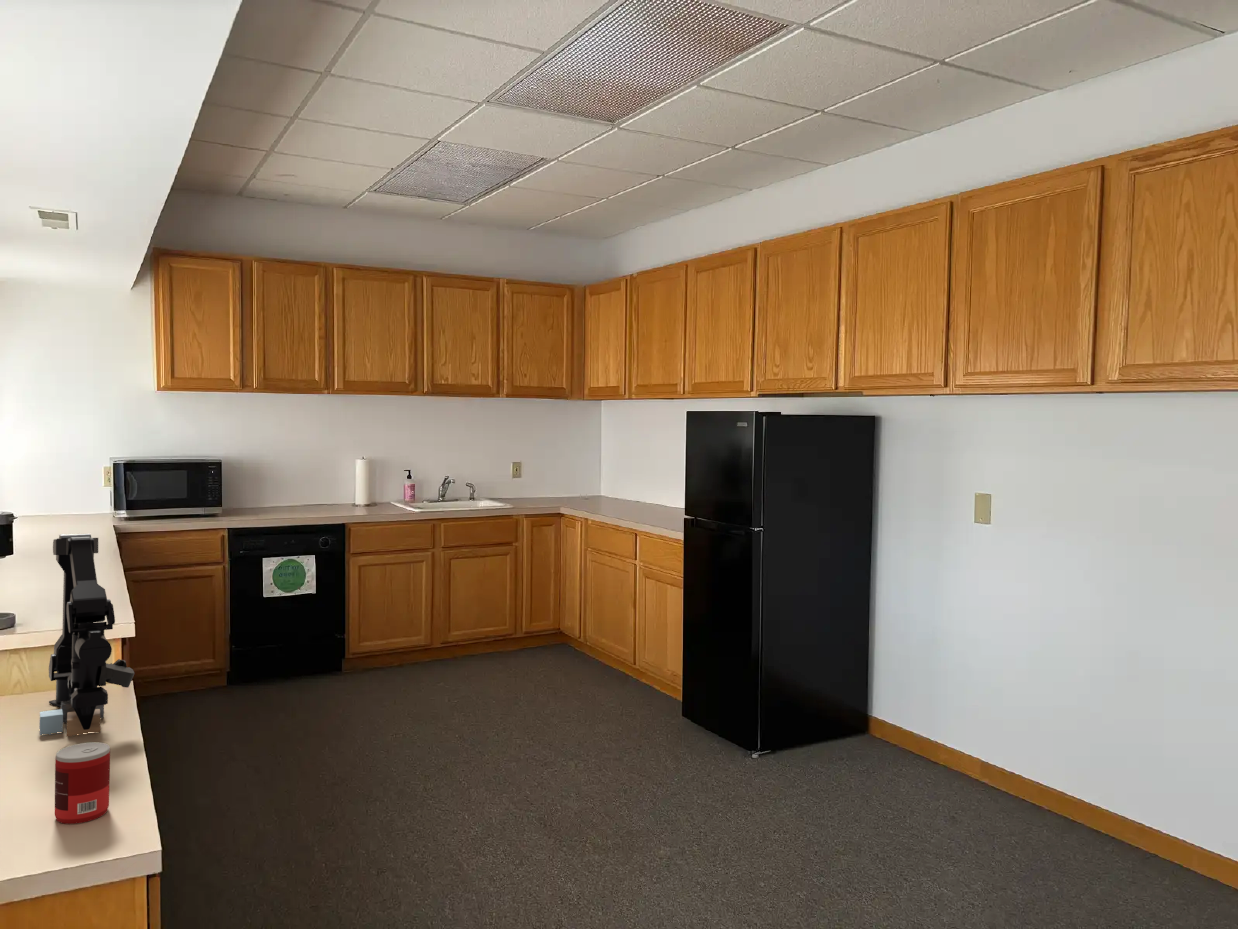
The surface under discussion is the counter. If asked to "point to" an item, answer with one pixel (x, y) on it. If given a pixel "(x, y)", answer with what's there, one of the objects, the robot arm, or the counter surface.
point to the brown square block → (76, 727)
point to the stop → (67, 707)
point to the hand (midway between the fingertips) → (86, 729)
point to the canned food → (82, 782)
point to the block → (51, 721)
